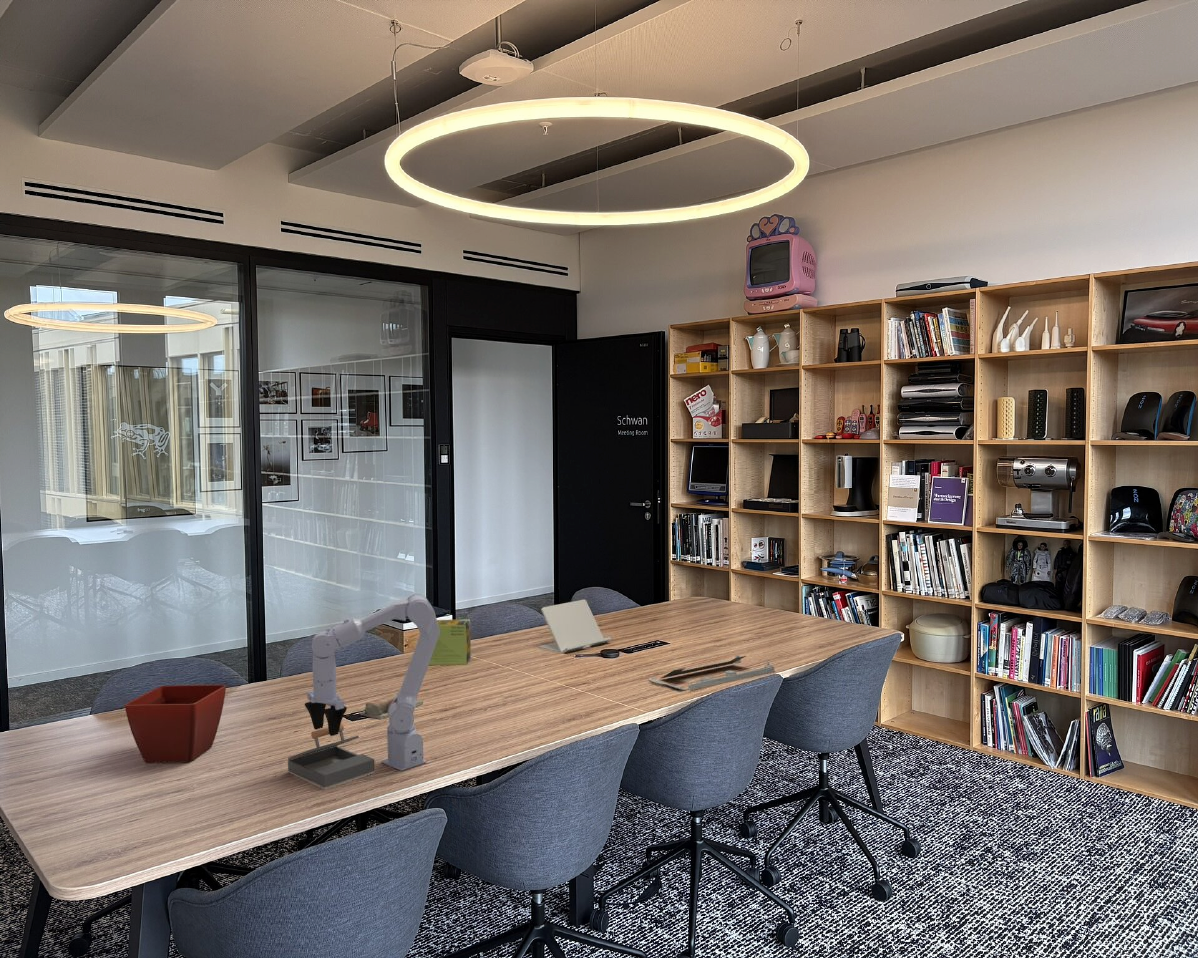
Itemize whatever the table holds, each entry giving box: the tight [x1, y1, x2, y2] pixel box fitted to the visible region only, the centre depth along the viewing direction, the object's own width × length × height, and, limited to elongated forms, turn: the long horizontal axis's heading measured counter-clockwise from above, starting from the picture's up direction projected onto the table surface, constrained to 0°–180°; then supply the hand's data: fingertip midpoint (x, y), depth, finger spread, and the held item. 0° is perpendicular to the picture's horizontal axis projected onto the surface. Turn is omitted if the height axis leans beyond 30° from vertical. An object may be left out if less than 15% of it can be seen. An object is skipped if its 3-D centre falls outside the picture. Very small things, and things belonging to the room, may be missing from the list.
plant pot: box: [124, 684, 227, 764], centre depth 238 cm, size 19×19×17 cm
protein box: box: [428, 618, 472, 666], centre depth 336 cm, size 10×15×16 cm
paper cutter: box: [648, 654, 775, 691], centre depth 308 cm, size 18×45×6 cm, turn 124°
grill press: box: [287, 723, 359, 761], centre depth 226 cm, size 12×14×5 cm
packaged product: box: [359, 692, 424, 720], centre depth 276 cm, size 18×5×10 cm
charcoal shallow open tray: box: [287, 745, 376, 791], centre depth 224 cm, size 18×14×4 cm
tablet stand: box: [538, 599, 612, 654], centre depth 359 cm, size 18×25×17 cm
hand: (326, 731), depth 224 cm, fingers open, 7 cm apart
